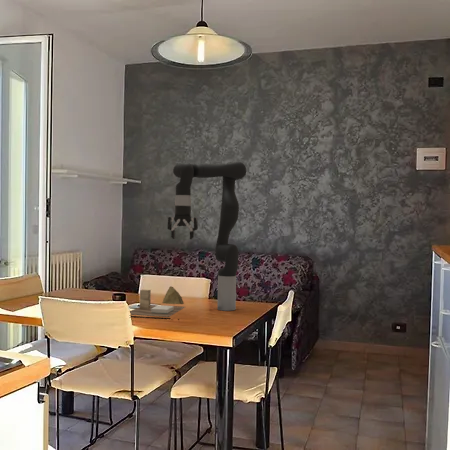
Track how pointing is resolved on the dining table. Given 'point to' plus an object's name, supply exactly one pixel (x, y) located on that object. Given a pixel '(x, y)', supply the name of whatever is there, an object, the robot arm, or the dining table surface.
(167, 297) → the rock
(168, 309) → the tile
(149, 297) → the block
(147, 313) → the board
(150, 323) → the dining table surface
